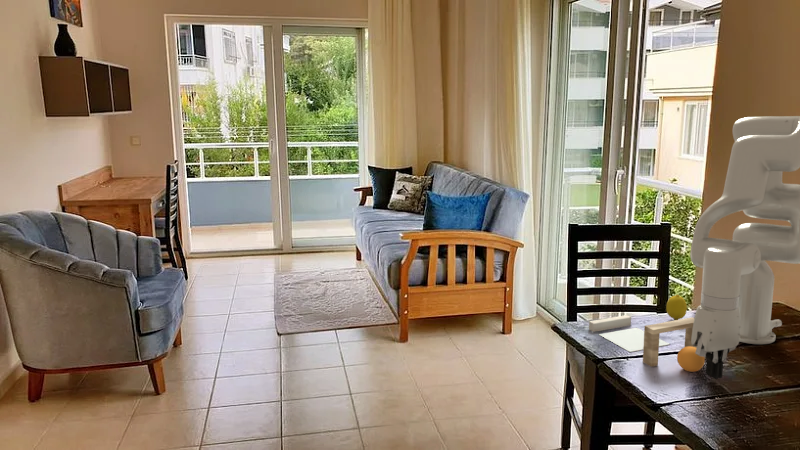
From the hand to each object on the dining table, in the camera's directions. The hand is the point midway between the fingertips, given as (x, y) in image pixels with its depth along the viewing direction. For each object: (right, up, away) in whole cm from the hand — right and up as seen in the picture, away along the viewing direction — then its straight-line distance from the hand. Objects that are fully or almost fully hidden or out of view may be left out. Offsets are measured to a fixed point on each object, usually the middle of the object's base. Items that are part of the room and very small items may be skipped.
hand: (713, 375), depth 137 cm
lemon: (+9, +6, +38) cm, 40 cm away
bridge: (-4, +1, +13) cm, 13 cm away
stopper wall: (-12, +5, +35) cm, 37 cm away
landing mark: (-9, +3, +26) cm, 27 cm away
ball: (-3, +3, +6) cm, 7 cm away
